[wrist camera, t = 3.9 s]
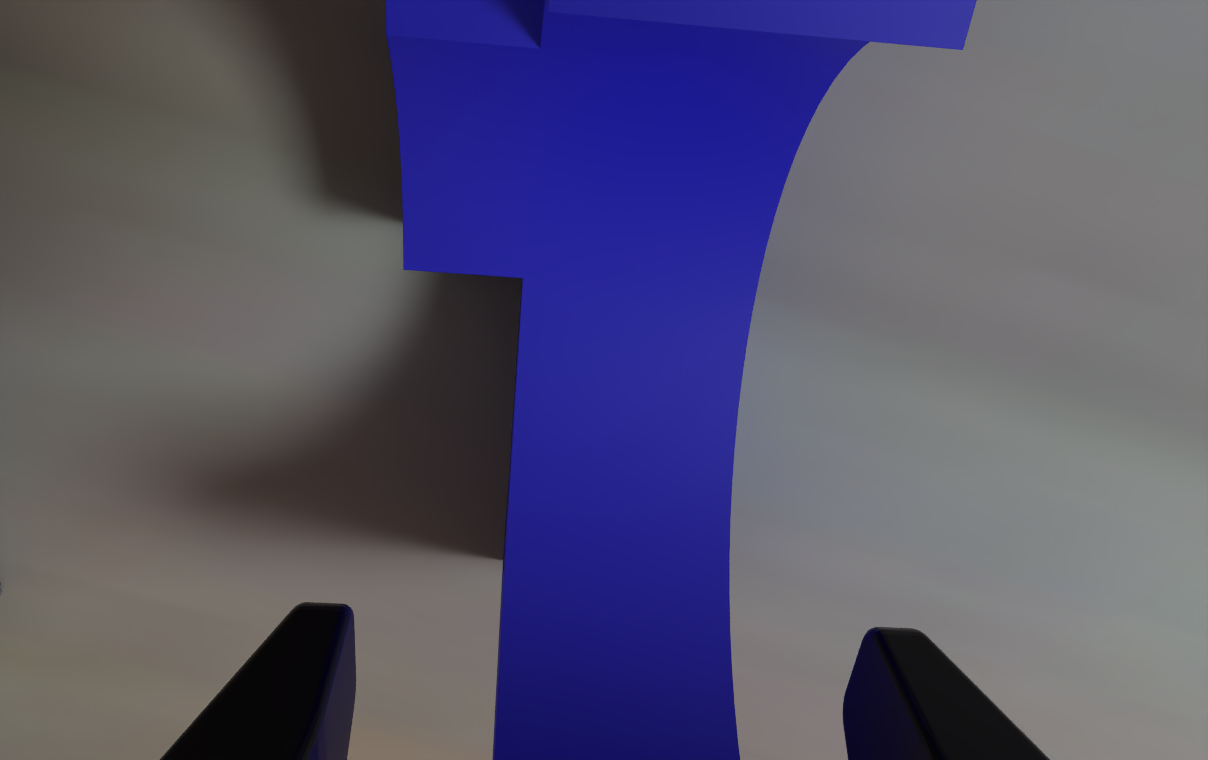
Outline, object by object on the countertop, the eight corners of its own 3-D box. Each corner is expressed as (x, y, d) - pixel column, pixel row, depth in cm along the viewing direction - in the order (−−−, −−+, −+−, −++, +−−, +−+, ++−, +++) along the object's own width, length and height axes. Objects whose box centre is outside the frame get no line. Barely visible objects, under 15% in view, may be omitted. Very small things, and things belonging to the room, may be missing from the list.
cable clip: (420, -294, 12) (321, -260, 7) (829, -246, 12) (1028, -182, 7) (413, 547, 18) (360, 883, 13) (679, 560, 19) (728, 890, 14)
